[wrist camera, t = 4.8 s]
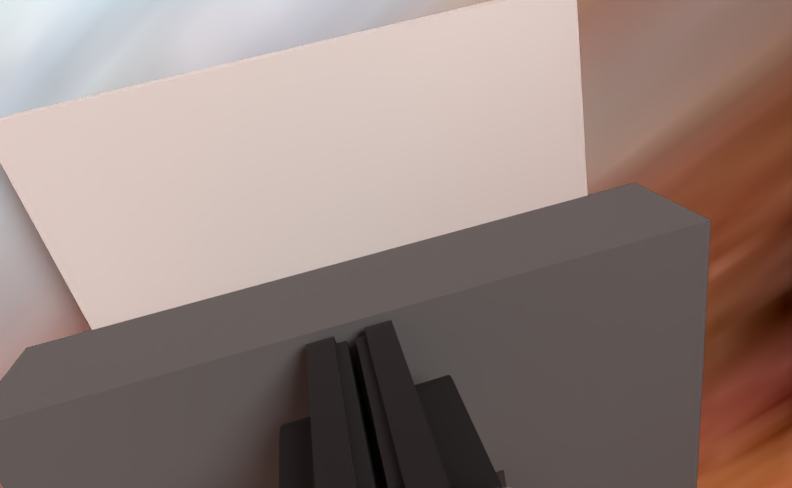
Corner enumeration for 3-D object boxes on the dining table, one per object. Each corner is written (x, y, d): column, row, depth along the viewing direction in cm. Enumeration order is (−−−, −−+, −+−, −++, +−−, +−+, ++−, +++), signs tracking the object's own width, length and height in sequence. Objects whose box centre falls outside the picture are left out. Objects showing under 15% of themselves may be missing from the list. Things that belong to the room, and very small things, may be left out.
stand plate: (9, 114, 19) (-20, 125, 17) (550, -14, 20) (575, -16, 18) (225, 528, 28) (220, 564, 26) (582, 419, 30) (601, 445, 28)
